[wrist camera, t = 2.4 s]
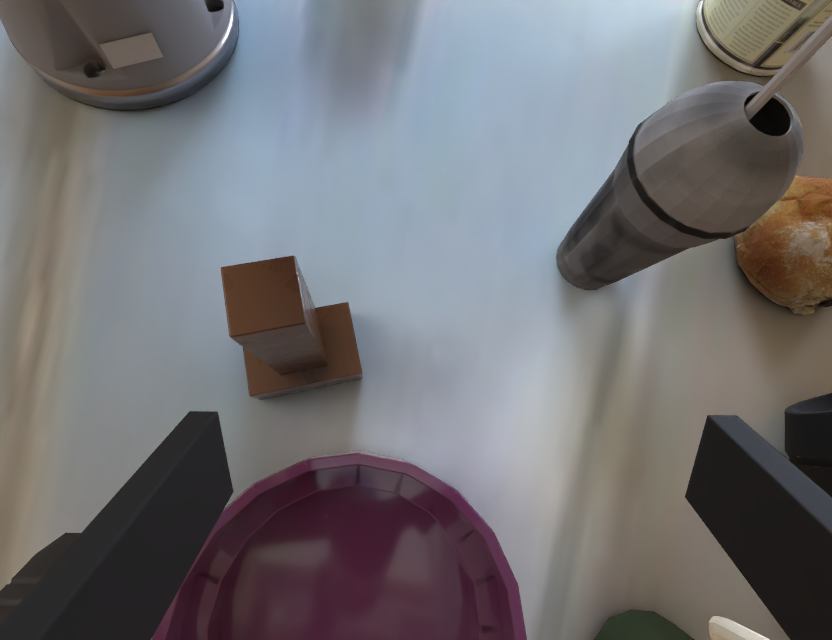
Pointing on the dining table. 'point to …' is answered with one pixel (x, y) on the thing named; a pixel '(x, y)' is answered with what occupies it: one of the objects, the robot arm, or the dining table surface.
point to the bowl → (348, 561)
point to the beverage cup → (691, 176)
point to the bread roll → (792, 247)
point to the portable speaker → (811, 439)
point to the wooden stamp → (287, 330)
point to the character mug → (668, 628)
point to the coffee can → (759, 30)
